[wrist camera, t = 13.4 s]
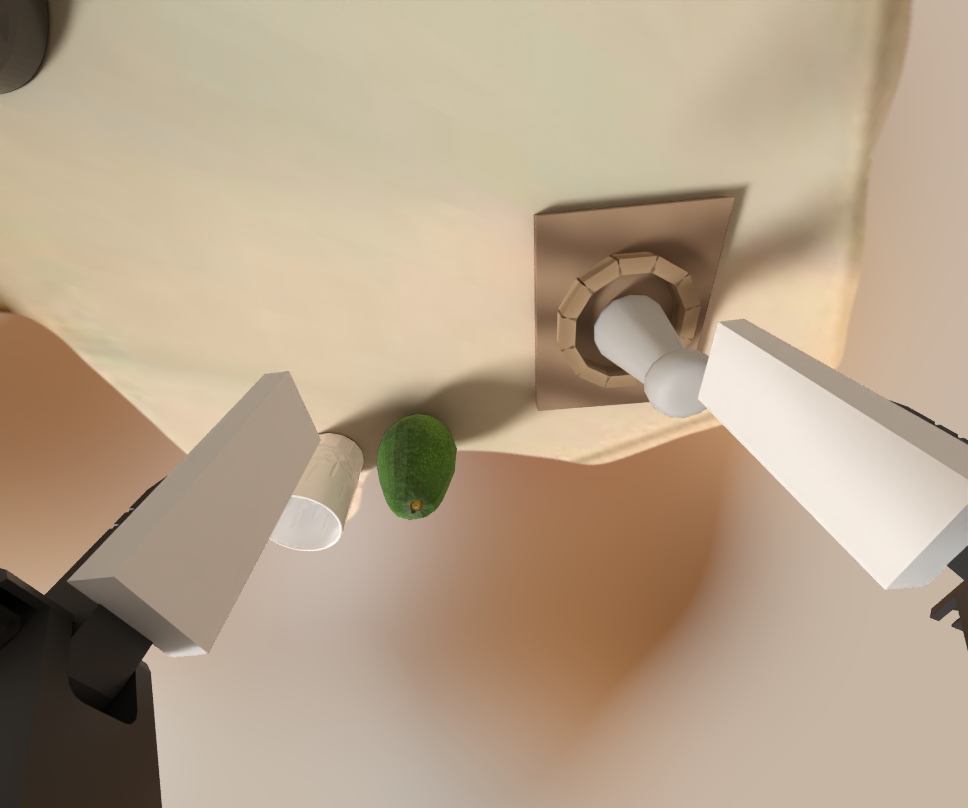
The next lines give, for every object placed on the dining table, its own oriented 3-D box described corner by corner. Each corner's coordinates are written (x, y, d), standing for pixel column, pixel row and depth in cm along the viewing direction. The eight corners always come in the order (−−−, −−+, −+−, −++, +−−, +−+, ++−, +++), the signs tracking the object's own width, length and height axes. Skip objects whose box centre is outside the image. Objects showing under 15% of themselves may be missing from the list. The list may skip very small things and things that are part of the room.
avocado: (462, 452, 42) (458, 539, 32) (396, 457, 42) (370, 545, 32) (454, 393, 38) (445, 473, 28) (380, 399, 38) (344, 480, 28)
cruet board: (533, 214, 29) (540, 219, 26) (723, 196, 28) (751, 198, 26) (535, 403, 39) (540, 421, 36) (677, 391, 38) (694, 409, 35)
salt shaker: (587, 293, 31) (647, 357, 20) (655, 281, 30) (755, 340, 19) (587, 354, 34) (640, 439, 23) (649, 345, 34) (733, 427, 23)
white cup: (357, 487, 45) (329, 559, 36) (293, 466, 43) (247, 537, 34) (378, 443, 41) (352, 512, 33) (308, 417, 39) (262, 483, 31)
